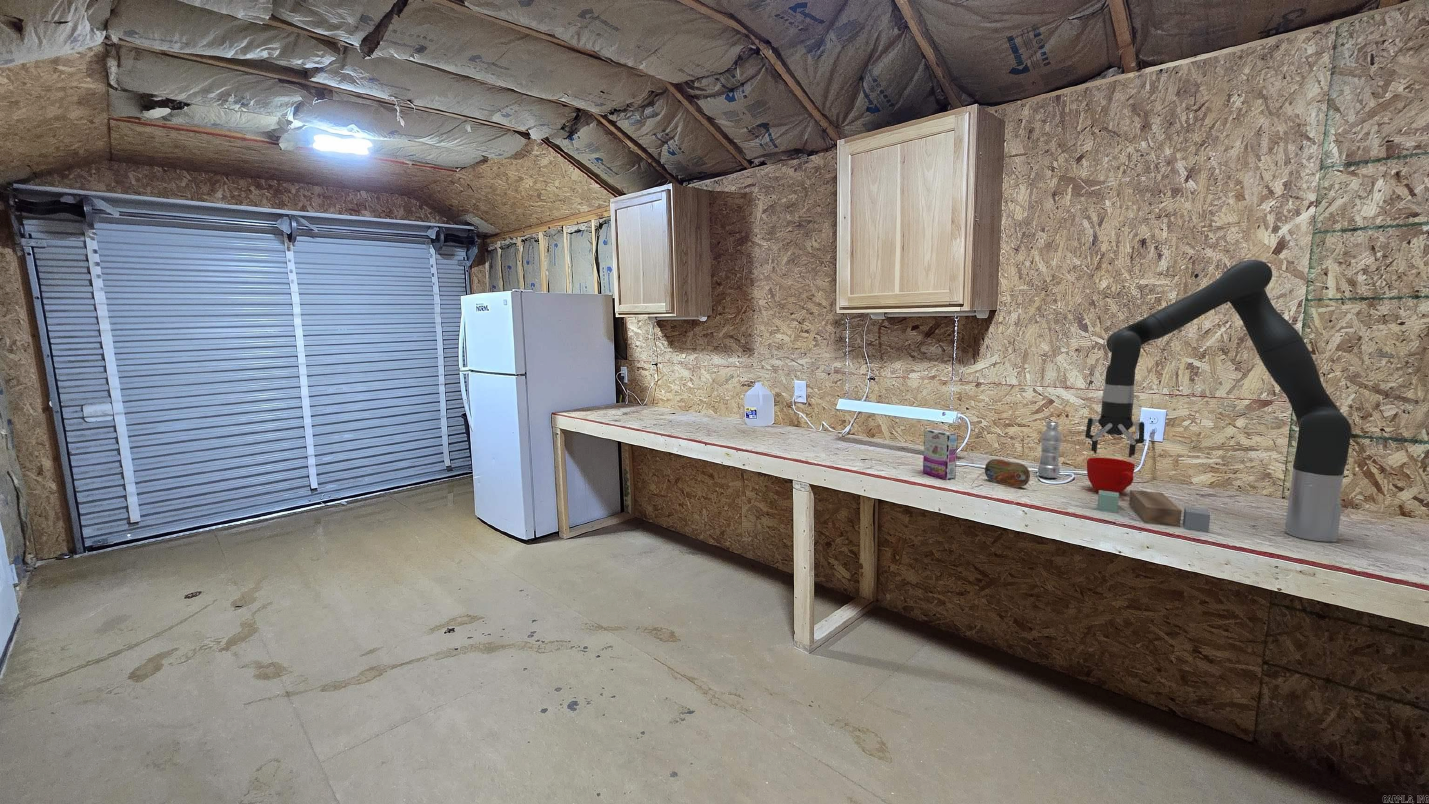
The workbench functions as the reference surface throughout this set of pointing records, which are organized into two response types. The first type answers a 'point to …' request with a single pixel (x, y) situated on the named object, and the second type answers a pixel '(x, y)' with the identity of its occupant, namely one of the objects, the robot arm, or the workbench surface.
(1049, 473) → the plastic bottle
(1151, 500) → the walnut block
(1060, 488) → the workbench surface
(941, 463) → the candy bar box
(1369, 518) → the workbench surface
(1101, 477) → the ceramic cup
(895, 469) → the workbench surface
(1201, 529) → the slate cube
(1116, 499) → the green cube
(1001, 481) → the tin
